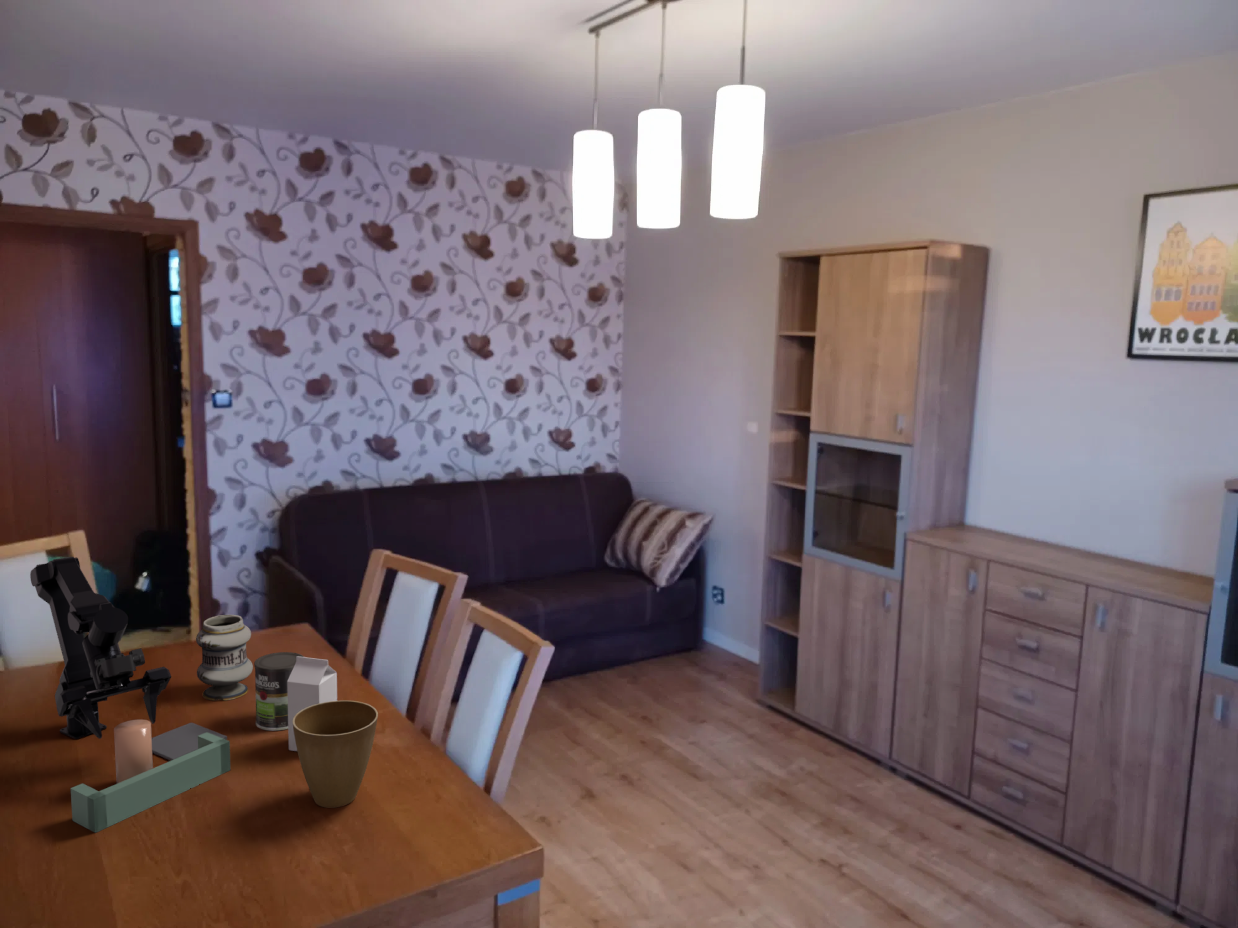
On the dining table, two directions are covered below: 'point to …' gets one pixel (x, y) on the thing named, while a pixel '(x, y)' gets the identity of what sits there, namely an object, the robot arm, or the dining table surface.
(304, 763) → the plant pot
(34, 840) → the dining table surface
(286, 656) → the coffee can
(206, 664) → the apothecary jar
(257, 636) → the dining table surface
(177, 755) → the mat
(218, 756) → the green bracket handle
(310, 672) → the milk carton
